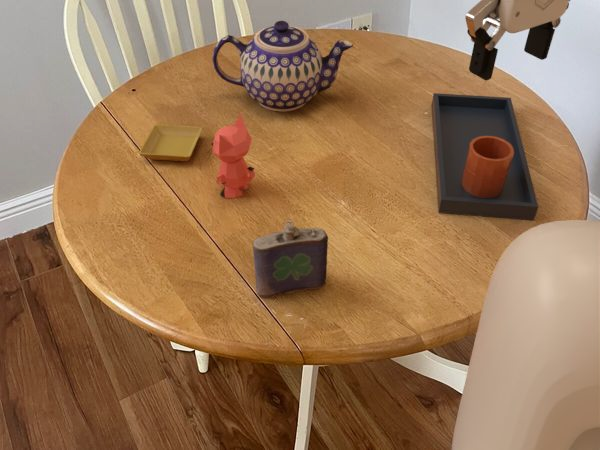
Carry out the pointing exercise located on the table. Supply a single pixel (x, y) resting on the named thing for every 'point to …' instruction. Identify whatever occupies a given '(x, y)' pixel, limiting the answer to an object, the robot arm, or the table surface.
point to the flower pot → (487, 166)
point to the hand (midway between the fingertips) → (507, 65)
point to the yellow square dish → (171, 142)
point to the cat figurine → (233, 158)
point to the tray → (454, 148)
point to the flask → (290, 260)
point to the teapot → (283, 66)
